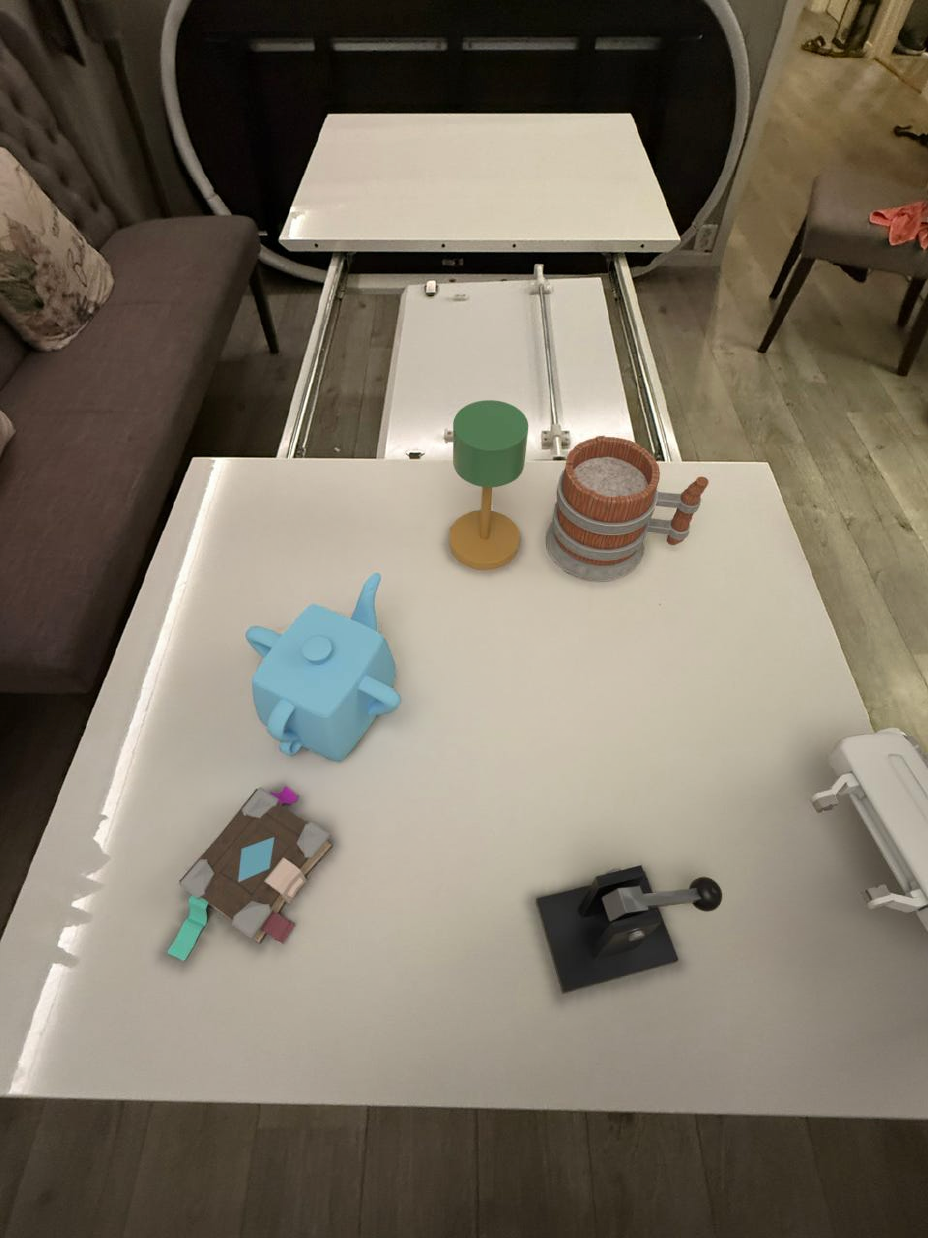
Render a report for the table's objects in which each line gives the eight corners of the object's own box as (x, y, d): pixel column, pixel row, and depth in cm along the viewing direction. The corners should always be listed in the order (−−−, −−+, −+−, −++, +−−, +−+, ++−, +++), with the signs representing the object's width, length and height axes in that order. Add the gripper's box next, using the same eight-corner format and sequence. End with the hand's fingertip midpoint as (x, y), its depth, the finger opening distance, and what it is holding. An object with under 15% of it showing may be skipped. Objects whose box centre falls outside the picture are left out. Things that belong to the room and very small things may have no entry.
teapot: (410, 757, 86) (404, 701, 75) (268, 783, 84) (241, 729, 73) (387, 631, 96) (379, 565, 85) (260, 651, 94) (235, 586, 83)
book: (238, 1009, 71) (225, 1001, 66) (147, 937, 74) (129, 926, 70) (362, 836, 80) (357, 820, 76) (276, 780, 84) (267, 762, 80)
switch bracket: (642, 873, 78) (671, 833, 68) (676, 962, 73) (713, 934, 63) (535, 901, 77) (548, 864, 66) (562, 994, 72) (581, 970, 61)
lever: (697, 882, 75) (720, 871, 73) (711, 914, 73) (734, 903, 71) (596, 893, 67) (618, 880, 65) (608, 929, 65) (631, 917, 63)
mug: (548, 504, 110) (560, 424, 97) (678, 517, 108) (707, 439, 96) (542, 577, 102) (554, 500, 89) (682, 592, 100) (714, 517, 88)
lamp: (530, 558, 103) (546, 441, 86) (464, 578, 101) (466, 461, 84) (503, 510, 109) (512, 390, 91) (439, 527, 107) (437, 407, 89)
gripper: (920, 710, 75) (799, 738, 73) (1058, 912, 64) (919, 953, 62) (890, 737, 81) (776, 765, 78) (1013, 929, 69) (883, 967, 67)
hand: (840, 849), depth 70 cm, fingers open, 8 cm apart
